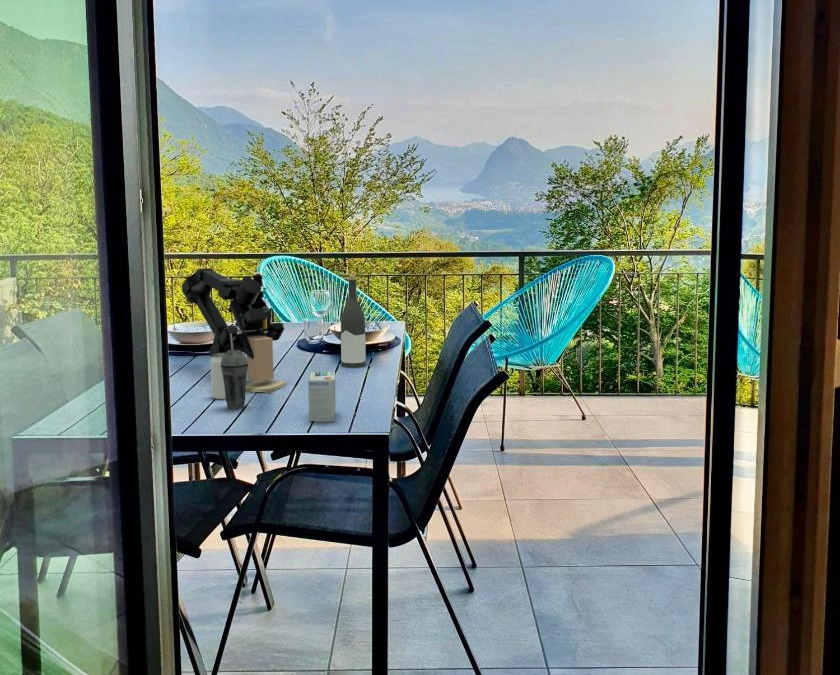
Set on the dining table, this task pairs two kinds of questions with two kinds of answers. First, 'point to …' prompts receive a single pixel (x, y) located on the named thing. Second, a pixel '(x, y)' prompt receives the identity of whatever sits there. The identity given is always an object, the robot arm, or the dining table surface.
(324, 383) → the light bulb box
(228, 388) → the beverage cup
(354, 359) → the wine bottle
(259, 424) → the dining table surface
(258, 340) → the tall block
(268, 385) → the brass board
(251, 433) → the dining table surface
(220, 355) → the can
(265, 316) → the robot arm
